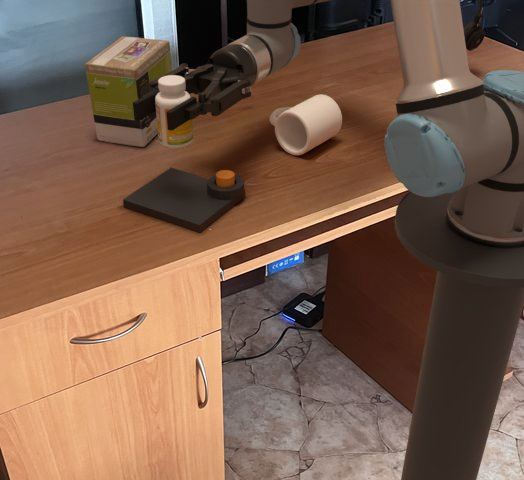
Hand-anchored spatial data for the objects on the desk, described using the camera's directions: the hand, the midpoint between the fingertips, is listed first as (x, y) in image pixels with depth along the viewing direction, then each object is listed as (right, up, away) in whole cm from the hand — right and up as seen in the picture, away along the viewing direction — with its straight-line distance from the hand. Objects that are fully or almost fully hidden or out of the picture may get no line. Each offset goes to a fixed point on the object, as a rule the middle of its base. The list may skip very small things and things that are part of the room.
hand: (152, 116), depth 115 cm
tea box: (-8, +8, +35) cm, 36 cm away
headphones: (+55, +26, +57) cm, 83 cm away
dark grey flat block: (+4, -10, +13) cm, 17 cm away
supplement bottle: (+3, -2, +7) cm, 8 cm away
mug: (+23, +4, +30) cm, 38 cm away
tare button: (+10, -7, +12) cm, 18 cm away
